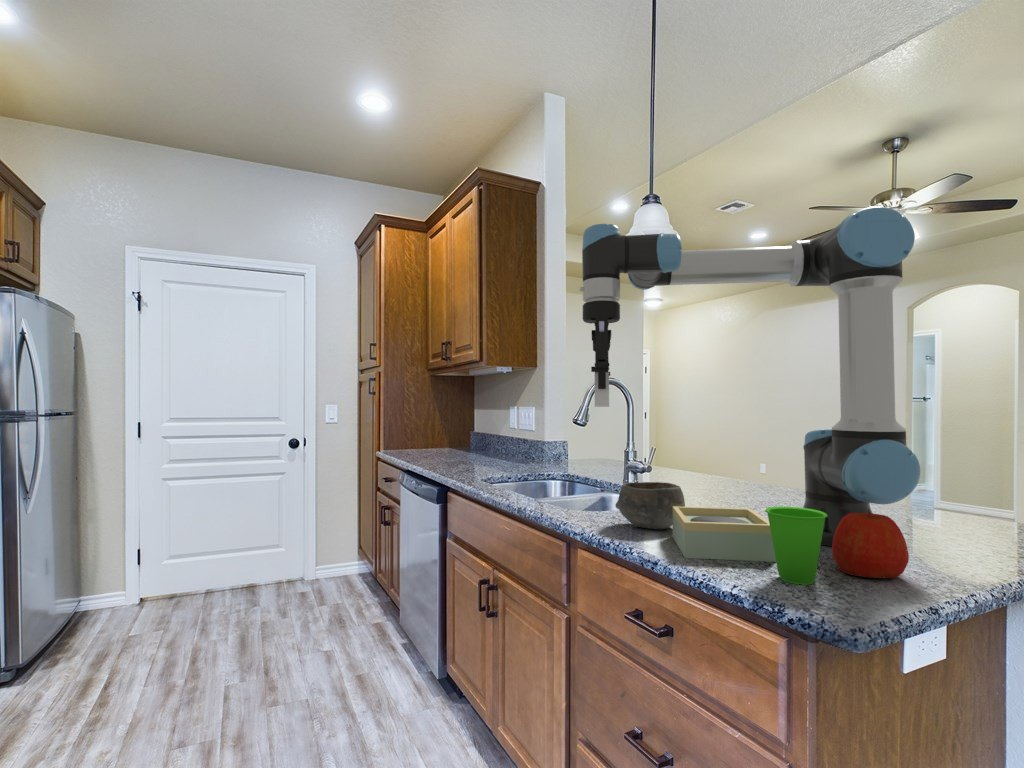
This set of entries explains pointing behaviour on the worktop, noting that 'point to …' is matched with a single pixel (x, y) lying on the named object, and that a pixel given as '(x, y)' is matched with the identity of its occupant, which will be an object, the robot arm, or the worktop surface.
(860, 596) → the worktop surface
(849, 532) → the apple
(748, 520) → the open box
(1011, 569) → the worktop surface
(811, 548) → the cup
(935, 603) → the worktop surface
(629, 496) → the bowl
